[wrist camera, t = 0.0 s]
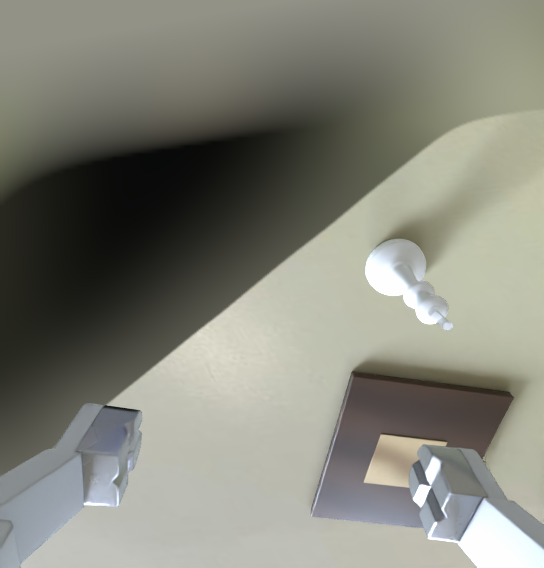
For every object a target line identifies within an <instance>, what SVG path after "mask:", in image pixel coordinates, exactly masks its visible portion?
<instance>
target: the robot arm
mask: <svg viewBox="0 0 544 568" xmlns="http://www.w3.org/2000/svg"><path fill="white" fill-rule="evenodd" d="M141 422H142V411H140V410H134V409H127V408H121V407H114V406H107V405H105V406H104V405H96V404H90V403H86V404H85V405H84V406H82V407H81V409H80V410H79V412H78V413H77V415H76V416H75V418H74V419H73V421H72V422H71V424H70V425H69V427H68V428H67V429H66V431H65V432H64V434H63V436H62V437H61V438H60V440H59V441H58V443H57V444H56V446H55V447H54V449H46V450H45V451H43V452H41V453H40V454H38V455H36V456H35V457H33V458H31V459H29V460H27V461H26V462H24V463H22V464H21V465H19V466H17V467H15V468H14V469H12V470H10V471H9V472H7V473H5V474H4V475H2V476H0V568H21V567H20V564H21V563H22V562H23V561H24V560H25V559H27V558H28V557H29V556H30V555H31V554H32V553H33V552H34V551H35V550H37V549H38V548H39V547H40V546H41V545H42V544H43V543H44V542H45V541H47V540H48V539H49V538H50V537H51V536H52V535H53V534H54V533H55V532H57V531H58V530H59V529H60V528H61V527H62V526H63V525H64V524H66V523H67V522H68V521H69V520H70V519H71V518H72V517H73V516H74V515H76V514H77V513H78V512H79V511H80V510H81V509H82V508H83V507H84V504H86V505H100V506H114V507H119V504H120V502H121V499H122V497H123V494H124V492H125V489H126V487H127V485H128V473H129V472H130V471H132V470H133V469H134V467H135V464H136V462H137V459H138V455H139V451H140V447H141V440H142V433H141V432H140V430H139V427H140V425H141ZM417 455H418V457H419V460H418V461H416V462H415V463H414V464H412V466H411V469H410V471H409V488H410V492H411V495H412V498H413V500H414V501H415V502H416V503H417V504H418V505H419V506H420V507H421V510H420V513H419V516H420V519H421V521H422V524H423V527H424V529H425V532H426V534H427V537H428V539H434V540H442V541H449V542H457V543H458V545H459V546H460V547H461V548H462V550H463V551H464V552H465V553H466V554H467V555H468V557H469V558H470V559H471V560H472V561H473V562H474V564H475V565H476V566H477V567H478V568H544V525H543V524H542V523H540V522H539V521H538V520H537V519H535V518H534V517H533V516H532V515H530V514H529V513H528V512H527V511H525V510H524V509H523V508H522V507H520V506H519V505H518V504H516V503H515V502H514V501H510V500H507V498H506V496H505V495H504V493H503V492H502V490H501V489H500V487H499V485H498V484H497V482H496V481H495V479H494V478H493V476H492V474H491V473H490V471H489V470H488V468H487V467H486V465H485V463H484V462H483V460H482V459H481V457H480V456H479V454H478V453H477V452H476V451H475V450H473V449H465V448H454V447H446V446H437V445H427V444H423V445H422V446H420V447H419V450H418V452H417Z"/></svg>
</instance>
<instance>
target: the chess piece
mask: <svg viewBox="0 0 544 568" xmlns="http://www.w3.org/2000/svg"><path fill="white" fill-rule="evenodd" d="M425 271H426V259H425V256H424V254H423V252H422V251H421V249H420V248H419V247H418V246H417V245H416V244H415V243H413V242H412V241H409V240H406V239H392V240H388V241H386V242H383V243H382V244H380V245H379V246H377V247H376V248H375V249H374V250H373V251H372V253H371V254H370V256H369V258H368V260H367V263H366V276H367V279H368V281H369V283H370V284H371V285H372V286H373V287H374V288H375V289H376V290H377V291H379V292H381V293H383V294H386V295H392V296H395V295H401V294H404V301H405V303H406V304H407V305H408V306H410V307H412V308H415V309H416V314H417V317H418V318H419V320H420V321H422V322H423V323H426V324H435V323H439V325H440V326H441V327H442V328H443V329H445V330H446V331H447V330H448V331H449V330H450V329H451V328H452V327H454V325H453V324H452V323H451V322H450V321H449V320H447V319H446V318H445V316H446V315H447V313H448V303H447V302H446V300H445V299H444V298H442V297H440V296H437V295H435V292H434V288H433V286H432V285H431V284H430V283H429V282H427V281H421V280H422V279H423V277H424V275H425Z"/></svg>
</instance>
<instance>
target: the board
mask: <svg viewBox="0 0 544 568" xmlns="http://www.w3.org/2000/svg"><path fill="white" fill-rule="evenodd" d="M513 399H514V397H513V396H512V395H511V393H510V392H504V391H496V390H488V389H481V388H473V387H465V386H458V385H450V384H442V383H435V382H427V381H420V380H412V379H404V378H397V377H389V376H381V375H374V374H366V373H358V372H352V373H351V377H350V380H349V383H348V387H347V390H346V393H345V397H344V400H343V404H342V407H341V410H340V414H339V417H338V420H337V424H336V427H335V431H334V434H333V437H332V441H331V444H330V447H329V451H328V454H327V458H326V461H325V464H324V468H323V471H322V474H321V478H320V481H319V484H318V488H317V491H316V495H315V498H314V501H313V505H312V508H311V516H312V517H319V518H329V519H338V520H348V521H358V522H367V523H377V524H386V525H396V526H406V527H415V528H424V527H423V524H422V521H421V519H420V516H419V513H420V510H421V507H420V506H419V505H418V504H417V503H416V502H415V501H414V500H413V498H412V495H411V492H410V488H409V471H410V469H411V466H412V464H414V463H415V462H416V461H418V460H419V457H418V455H417V452H418V450H419V447H420V446H422V445H423V444H427V445H437V446H446V447H454V448H465V449H473V450H475V451H476V452H477V453H478V454H479V456H480V457H481V459H482V457H483V456H484V454H485V452H486V450H487V448H488V446H489V444H490V442H491V440H492V438H493V437H494V435H495V433H496V431H497V429H498V427H499V425H500V423H501V421H502V419H503V418H504V416H505V414H506V412H507V410H508V408H509V406H510V404H511V402H512V400H513Z"/></svg>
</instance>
